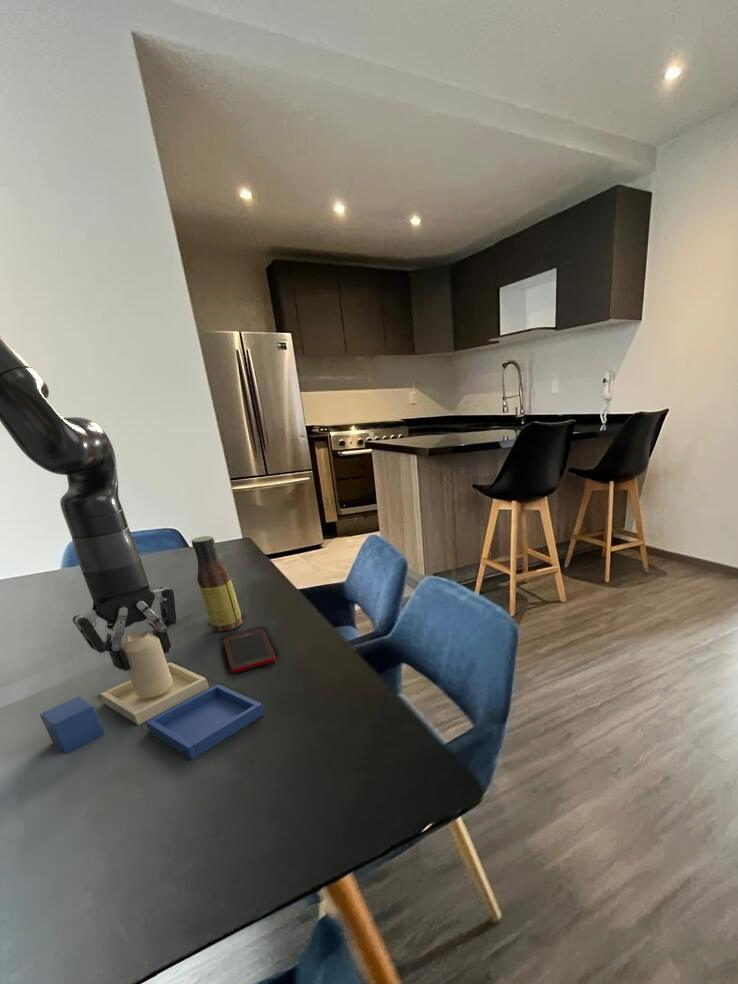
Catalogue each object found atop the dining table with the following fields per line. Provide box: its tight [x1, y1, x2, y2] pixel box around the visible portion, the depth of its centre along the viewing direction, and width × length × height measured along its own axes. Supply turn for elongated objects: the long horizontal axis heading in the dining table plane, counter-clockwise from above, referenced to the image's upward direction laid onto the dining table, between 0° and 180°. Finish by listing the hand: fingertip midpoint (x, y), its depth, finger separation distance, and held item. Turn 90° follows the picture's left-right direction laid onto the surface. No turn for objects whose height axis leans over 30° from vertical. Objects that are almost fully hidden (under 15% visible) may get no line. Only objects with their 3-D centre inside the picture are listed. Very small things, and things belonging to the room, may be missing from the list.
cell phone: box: [223, 629, 277, 674], centre depth 94 cm, size 8×15×1 cm, turn 28°
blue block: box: [39, 696, 105, 754], centre depth 71 cm, size 5×5×5 cm
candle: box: [121, 631, 173, 698], centre depth 79 cm, size 6×6×10 cm
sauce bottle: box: [191, 535, 243, 632], centre depth 102 cm, size 6×6×20 cm
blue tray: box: [145, 683, 265, 760], centre depth 73 cm, size 12×12×2 cm
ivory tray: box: [100, 662, 210, 726], centre depth 81 cm, size 12×12×2 cm
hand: (145, 660), depth 79 cm, fingers closed on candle, 5 cm apart
